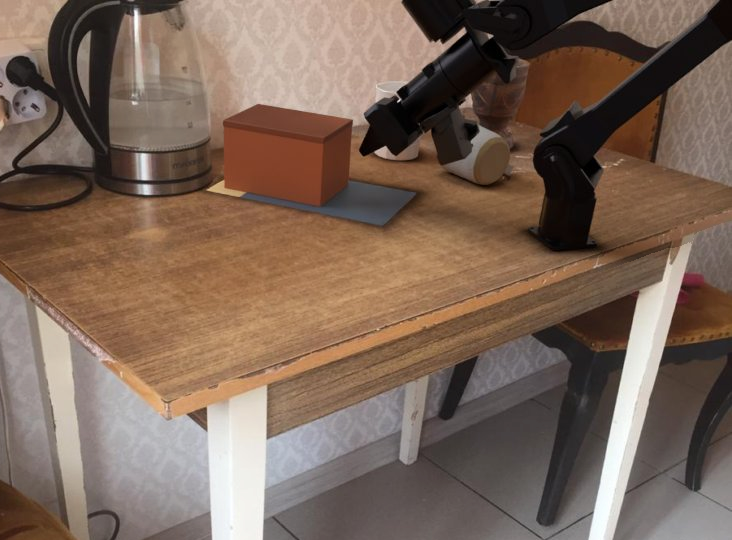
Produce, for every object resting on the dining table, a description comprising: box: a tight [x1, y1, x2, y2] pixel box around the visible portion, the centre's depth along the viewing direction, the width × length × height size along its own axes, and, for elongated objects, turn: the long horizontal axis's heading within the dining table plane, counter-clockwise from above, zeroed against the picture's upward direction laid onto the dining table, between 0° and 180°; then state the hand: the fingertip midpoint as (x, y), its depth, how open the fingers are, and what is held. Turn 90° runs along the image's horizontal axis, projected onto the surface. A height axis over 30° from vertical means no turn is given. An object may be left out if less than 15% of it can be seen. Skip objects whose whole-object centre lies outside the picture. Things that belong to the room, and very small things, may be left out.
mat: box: [205, 179, 418, 227], centre depth 117 cm, size 25×14×1 cm, turn 68°
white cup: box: [374, 80, 423, 161], centre depth 131 cm, size 8×8×10 cm
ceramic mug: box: [441, 124, 514, 186], centre depth 124 cm, size 11×8×8 cm
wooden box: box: [222, 103, 354, 207], centre depth 115 cm, size 14×10×9 cm
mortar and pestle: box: [464, 27, 531, 150], centre depth 134 cm, size 12×9×20 cm
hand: (361, 153), depth 112 cm, fingers closed
